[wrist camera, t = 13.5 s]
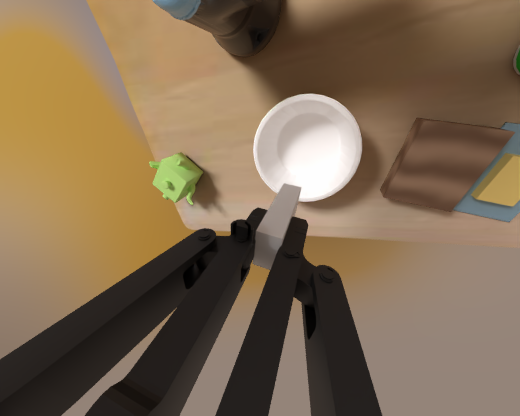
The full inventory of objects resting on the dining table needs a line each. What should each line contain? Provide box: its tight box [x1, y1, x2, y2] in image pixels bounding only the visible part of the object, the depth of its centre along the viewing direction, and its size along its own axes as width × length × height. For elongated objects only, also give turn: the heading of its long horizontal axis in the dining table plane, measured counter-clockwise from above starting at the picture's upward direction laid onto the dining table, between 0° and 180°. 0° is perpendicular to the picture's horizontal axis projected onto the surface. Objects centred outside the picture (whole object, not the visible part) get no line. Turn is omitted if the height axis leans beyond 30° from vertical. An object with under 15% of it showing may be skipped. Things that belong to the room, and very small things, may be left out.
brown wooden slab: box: [380, 118, 515, 212], centre depth 38 cm, size 16×13×4 cm
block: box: [471, 153, 520, 206], centre depth 35 cm, size 9×6×2 cm, turn 174°
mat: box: [453, 122, 520, 222], centre depth 36 cm, size 18×12×1 cm
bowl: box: [253, 94, 362, 202], centre depth 43 cm, size 22×22×8 cm
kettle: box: [149, 153, 203, 205], centre depth 58 cm, size 15×14×11 cm
